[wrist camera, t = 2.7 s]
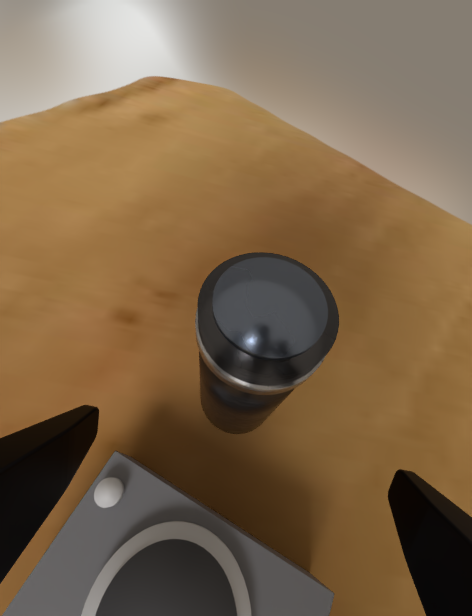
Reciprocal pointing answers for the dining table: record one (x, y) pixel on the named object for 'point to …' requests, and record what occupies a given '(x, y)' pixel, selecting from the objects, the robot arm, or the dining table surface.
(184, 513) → the grey rectangular block
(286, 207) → the dining table surface
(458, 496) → the dining table surface
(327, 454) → the dining table surface
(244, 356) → the dark grey cylinder
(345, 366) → the dining table surface
